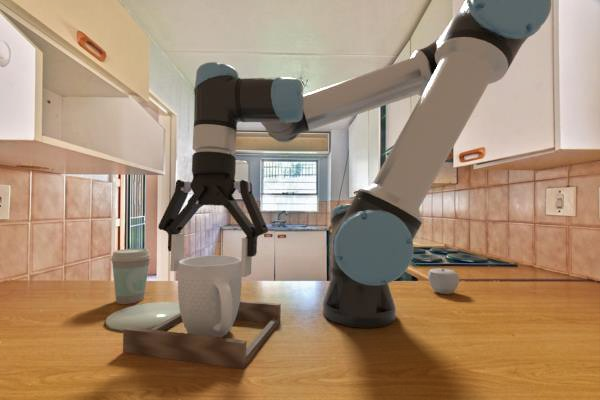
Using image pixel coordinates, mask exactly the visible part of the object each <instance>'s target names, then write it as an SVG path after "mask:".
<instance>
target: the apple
mask: <svg viewBox="0 0 600 400" xmlns="http://www.w3.org/2000/svg"><path fill="white" fill-rule="evenodd" d="M427 277H428V283H429V285H430V287H431V288H432V289H433V291H434V292H435V293H437V294H441V295H442V294H443V295H450V294H453V293H455V291H456V290H457V289H458V286H459V283H460V278H459V275H458V273H457V272H456V271H455V270H453V269H449V268H443V267H442V268H441V267H437V268H436V267H435V268H431V269H429V271H428V274H427Z"/></svg>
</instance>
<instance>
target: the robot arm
mask: <svg viewBox="0 0 600 400" xmlns="http://www.w3.org/2000/svg"><path fill="white" fill-rule="evenodd" d="M551 9H552V0H464V1H463V2H462V3H461V5H460V6H459V8H458V10H457V11H456V13H455V14H454V16H453V17H452V18H451V20H450V22H449V23H448V24H447V27H446V28H445V29H444V31H443V33H442V34H441V35H440V36H439V37H438V38H437V39H436V40H435V41H433V42H432V43H430V44H429V45H427V46H425V47H423V48H420V49H417V50H415V51H414V52H413V53H412V54H411V56H410V58H407V59H404V60H401V61H399V62H396V63H392V64H389V65H387V66H383V67H382V68H378V69H375V70H372V71H370V72H367V73H363V74H360V75H358V76H355V77H352V78H349V79H345V80H344V81H340V82H338V83H334V84H331V85H329V86H327V87H323V88H320V89H317V90H315V91H312V92H308V93H306V94H304V86H303V83H302V81H301V79H299V78H294V77H284V76H277V77H254V78H253V77H251V78H250V77H249V78H247V77H246V78H242V77H239V73H238V71H237V70H236V69H235V68H234V67H233V66H231V65H230V64H226V63H219V62H216V61H212V62H211V61H210V62H204V63H203V64H201V65H200V66H199V67H198V68H197V70H196V75H195V84H194V88H193V95H194V104H193V105H194V107H193V108H194V110H193V111H194V115H193V128H192V129H193V131H192V133H193V135H192V150H193V151H194V153H193V154H192V155H191V173H192V180H191V181H188V180H181V179H177V180H176V181H175V187H174V192H173V194H172V196H171V199H170V200H169V202H168V205H167V206H166V209H165V211H164V213H163V215H162V217H161V219H160V221H159V223H158V226H157V227H158V229H159V230H161V231H165V233H167V235H168V237H167V239H168V240H167V250H168V252H170V264H169V265H170V270H169V271H170V272H176V271H178V270H179V261H180V260H182V259H185V258H184V257H185V256H184V254H185V233H183V231H182V230H183V229H185V228H184V227H186V226H187V225H188V223H189V222H190V220H191V219H192V218H193V217H194V215H195V214H196V213H197V212H198V211H199V209H200V208H202V207H203V206H219V207H220V206H221V207H224V208H226V209H227V211H228V213H229V214H230V215H231V216H232V218H233V219H234V220H235V221H234V222H235V223H236V224H237V225H238V226H239V227H240V229H241V230H242V231H243V233H244V234H245V235H246V236H245V237H242V238H241V258H240V259H241V277H242V278H246V277H248V276H250V275H251V274H252V263H253V262H252V260H253V259H252V257H255V256H256V255H257V253H258V250H257V248H258V237H260V236H261V235H264V234H267V233H268V231H269V230H268V227H267V223H266V221H265V219H264V216H263V215H262V213H261V210H260V208H259V205H258V202H257V201H256V198H255V197H254V193H253V184H252V182H251V181H249V180H246V179H242V180H240V181H236V179H235V177H236V162H237V161H236V160H237V159H236V157H235V155H234V154H235V153H237V132H238V131H237V129H238V127H237V126H238V123H240V122H241V123H261V125H262V126H263V127H264V128H265V130H266V132H267V134H268V135H269V136H270V138H272V139H274V140H275V141H277V142H279V143H283V144H286V143H290V142H292V141H293V140H295V139H297V138H298V136H299V135H300V134H303V133H306V132H308V131H311V130H315V129H317V128H318V129H319V128H321V127H323V126H327V125H329V124H332V123H336V122H339V121H341V120H345V119H347V118H350V117H353V116H356V115H360V114H363V113H366V112H368V111H371V110H375V109H377V108H380V107H383V106H387V105H389V104H393V103H396V102H399V101H402V100H406V99H408V98H410V97H414V96H417V95H418V96H420V97H419V98H418V101H417V103H416V105H415V106H414V108H413V109H412V112H411V114H410V115H409V117H408V119H407V121H406V122H405V124H404V126H403V128H402V130H401V132H400V134H399V135H398V137H397V139H396V141H395V142H394V144H393V146H392V148H391V149H390V151H389V153H388V155H387V156H386V159H384V162H383V164H382V166H381V168H380V169H379V171H378V173H377V175H376V176H375V179H374V180H373V182H372V183H371V184H370V185H369V186H364V187H362V188H359V189H358V191H356V194H355V196H354V198H353V199H352V201H351V203H346V204H339V205H337V206H335V207H333V209H332V212H331V218H330V223H331V275H330V276H331V277H330V279H329V284H328V286H327V289H326V292H325V296H324V299H323V302H322V313H323V316H324V317H325V318H327V319H328V320H329V321H332V322H334V323H336V324H339V325H343V326H347V327H354V328H366V329H367V328H371V329H372V328H379V327H380V328H381V327H385V326H388V325H390V324H392V323H394V322H395V320H396V319H397V318H396V313H397V312H396V304H395V301H394V299H393V295H392V292H391V289H390V286H389V284H390V283H392V282H394V281H396V280H398V278H399V279H400V277H401V276H402V275H403V274H405V272H406V271H407V270H408V268H409V267H410V264H411V262H412V260H413V256H414V239H415V237H416V235H417V233H418V231H419V230H420V228H421V226H422V224H423V222H424V221H423V218H422V215H421V211H420V207H421V206H422V205H423V202H424V201H425V199H426V197H427V195H428V193H429V191H430V190H431V187H432V186H433V184H434V182H435V181H436V179H437V177H438V175H439V173H440V172H441V170H442V168H443V167H444V165H445V162H446V161H447V159H448V157H449V155H450V154H451V152H452V151H453V148H454V147H455V144H456V143H457V142H458V139H459V137H461V134H462V132H463V130H464V128H465V127H466V125H467V124H468V122H469V119H470V117H471V116H472V114H473V113H474V110H475V109H476V107H477V105H478V103H479V102H480V100H481V98H482V97H483V95H484V93H485V91H486V89H487V87H488V86H489V85H491V84H493V83H494V84H495V83H496V82H498V81H500V80H502V79H503V78H504V77H505V75H506V74H507V72H508V70H509V69H510V66H511V65H512V63H513V61H514V60H515V57H516V56H517V54H518V53H519V50H520V49H521V47H522V46H523V44H524V43H525V42H526V40H527V39H528V38H530V37H532V36H534V35H535V34H536V33H537V32H538V31H539V30H540V29H541V27H542V26H543V25H544V24H545V22H546V20H548V17H549V16H550V12H551ZM236 191H237V192H238V193H239V194H240V195H241V196H240V197H241V198H242V201H243V203H244V206H245V208H246V211H247V213H248V215H249V217H250V219H249V218H248V217H247V215H246V214H245V212H244V211H243V209H242V208H241V207H240V205H239V203H238V201H237V199H235V197H234V196H233V195H234V193H235V192H236ZM190 192H193V193H192V195H191V197H189V199H188V198H187V197H188V195H189V193H190ZM187 199H188V200H187ZM186 200H187V204H185V203H186ZM184 204H185V206H184ZM183 206H184V207H183ZM250 220H251V221H250Z"/></svg>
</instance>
